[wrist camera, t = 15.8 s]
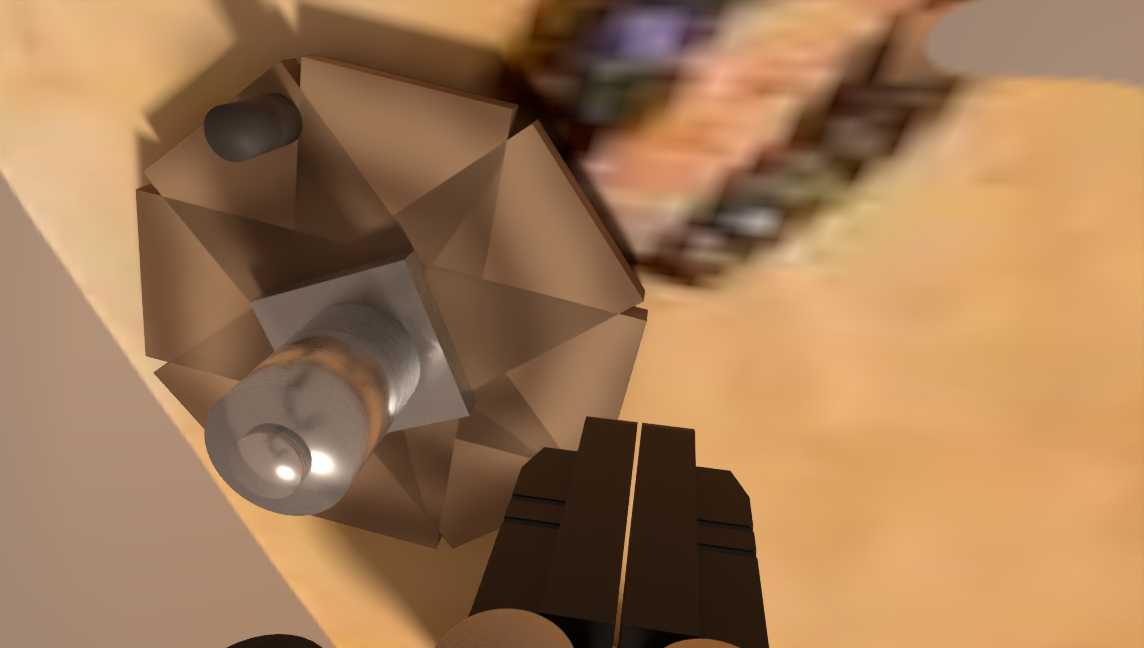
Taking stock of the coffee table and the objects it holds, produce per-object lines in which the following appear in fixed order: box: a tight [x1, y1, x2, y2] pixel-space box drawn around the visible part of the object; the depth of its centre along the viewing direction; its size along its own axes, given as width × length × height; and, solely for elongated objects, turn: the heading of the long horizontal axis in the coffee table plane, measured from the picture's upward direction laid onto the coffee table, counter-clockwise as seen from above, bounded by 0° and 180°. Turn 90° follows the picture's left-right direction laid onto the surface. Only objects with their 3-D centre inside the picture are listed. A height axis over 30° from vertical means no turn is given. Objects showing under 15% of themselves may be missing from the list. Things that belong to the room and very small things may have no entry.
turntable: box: [136, 54, 648, 549], centre depth 37 cm, size 27×27×5 cm
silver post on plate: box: [204, 250, 477, 516], centre depth 34 cm, size 9×9×11 cm
